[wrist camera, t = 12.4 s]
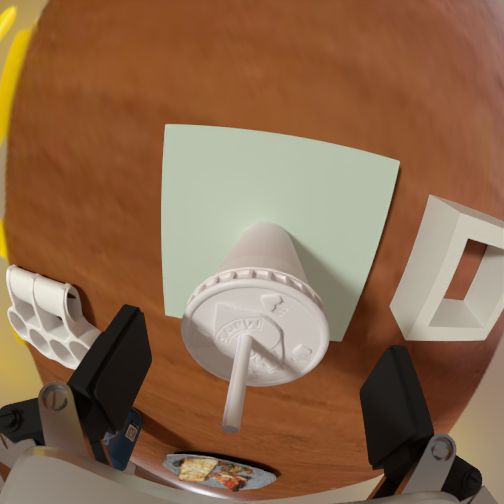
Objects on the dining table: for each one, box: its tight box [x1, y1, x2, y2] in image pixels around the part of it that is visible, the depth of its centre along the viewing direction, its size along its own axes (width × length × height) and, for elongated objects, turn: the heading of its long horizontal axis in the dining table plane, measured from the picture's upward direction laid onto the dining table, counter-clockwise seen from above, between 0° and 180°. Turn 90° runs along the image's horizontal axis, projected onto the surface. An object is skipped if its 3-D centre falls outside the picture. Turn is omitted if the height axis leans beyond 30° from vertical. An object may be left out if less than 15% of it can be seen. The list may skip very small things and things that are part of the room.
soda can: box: [103, 407, 143, 471], centre depth 30 cm, size 7×7×12 cm
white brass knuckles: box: [6, 265, 102, 370], centre depth 27 cm, size 3×18×15 cm
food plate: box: [162, 454, 276, 492], centre depth 43 cm, size 25×23×4 cm
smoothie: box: [181, 222, 329, 433], centre depth 13 cm, size 6×6×14 cm
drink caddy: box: [389, 194, 504, 341], centre depth 18 cm, size 10×10×4 cm
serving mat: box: [161, 124, 400, 342], centre depth 20 cm, size 16×16×1 cm
